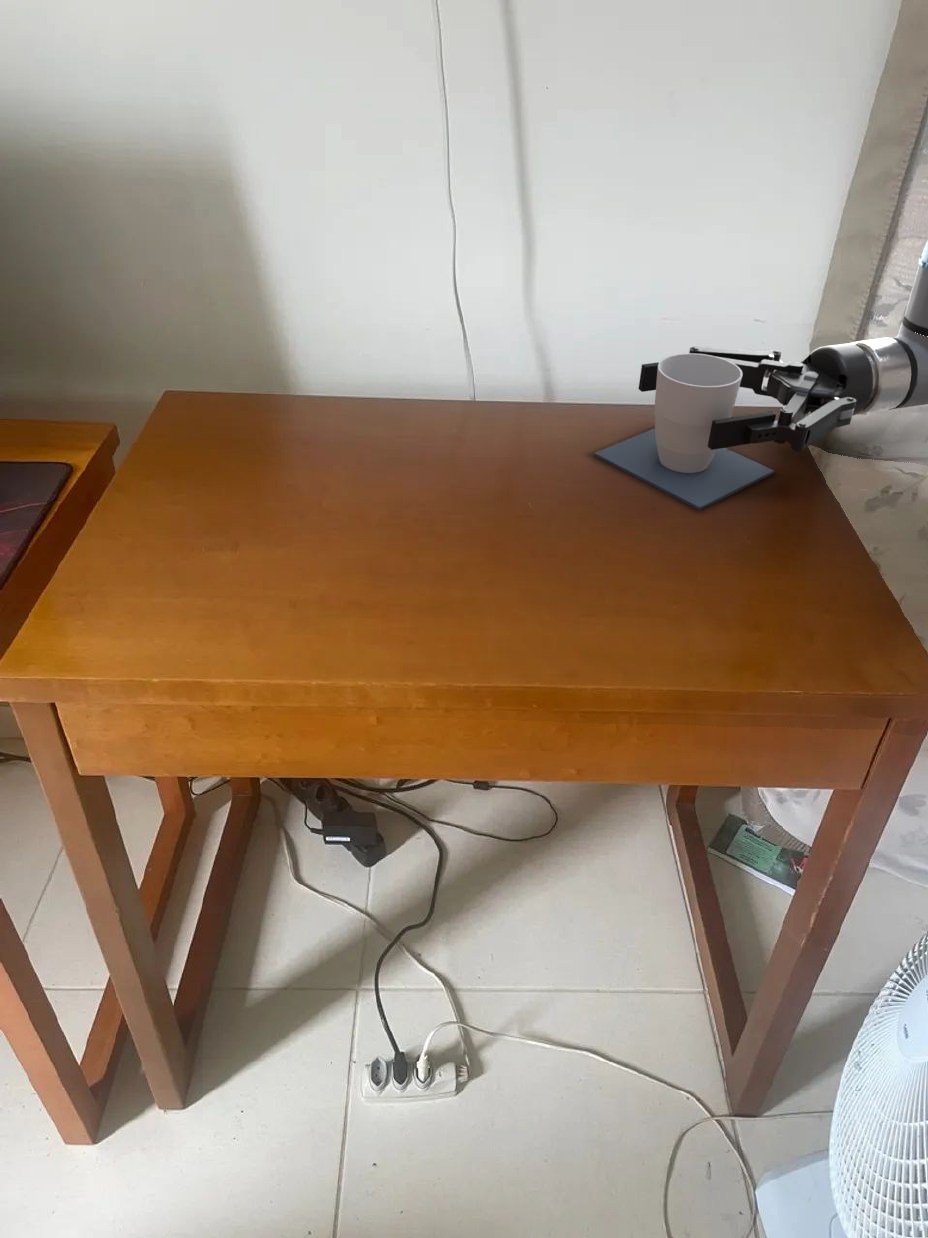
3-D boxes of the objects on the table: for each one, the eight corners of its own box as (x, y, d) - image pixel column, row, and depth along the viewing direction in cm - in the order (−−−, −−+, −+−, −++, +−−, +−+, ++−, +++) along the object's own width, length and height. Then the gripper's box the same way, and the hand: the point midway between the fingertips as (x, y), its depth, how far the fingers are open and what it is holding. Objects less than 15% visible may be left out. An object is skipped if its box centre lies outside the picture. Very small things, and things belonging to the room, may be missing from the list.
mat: (773, 473, 101) (774, 470, 100) (699, 510, 94) (699, 507, 94) (668, 425, 109) (669, 421, 109) (593, 456, 103) (594, 452, 103)
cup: (739, 473, 100) (759, 380, 94) (670, 486, 97) (686, 391, 91) (695, 438, 106) (712, 349, 100) (629, 449, 103) (642, 358, 97)
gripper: (923, 465, 96) (737, 499, 90) (774, 367, 115) (612, 390, 108) (948, 393, 92) (754, 424, 85) (789, 304, 110) (620, 323, 104)
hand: (674, 405), depth 97 cm, fingers open, 13 cm apart
